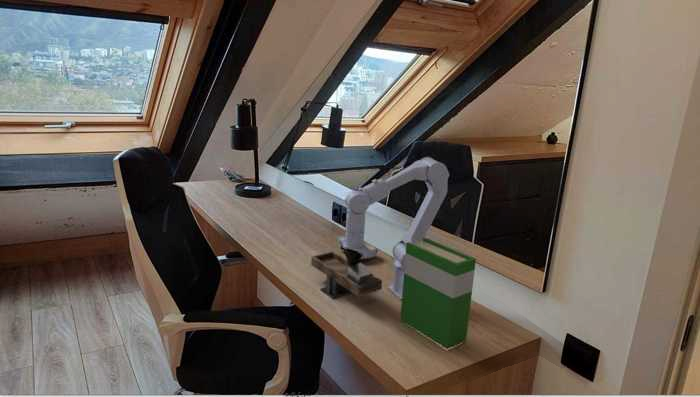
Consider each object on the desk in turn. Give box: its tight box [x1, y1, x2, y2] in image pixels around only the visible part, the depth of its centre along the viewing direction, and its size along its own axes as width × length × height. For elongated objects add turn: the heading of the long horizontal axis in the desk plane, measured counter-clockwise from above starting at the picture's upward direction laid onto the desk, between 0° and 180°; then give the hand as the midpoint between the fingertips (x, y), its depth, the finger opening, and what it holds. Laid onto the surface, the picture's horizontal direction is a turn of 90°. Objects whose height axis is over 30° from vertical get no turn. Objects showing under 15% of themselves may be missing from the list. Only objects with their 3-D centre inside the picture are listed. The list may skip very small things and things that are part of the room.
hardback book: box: [400, 237, 477, 349], centre depth 125 cm, size 18×7×24 cm, turn 37°
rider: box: [347, 262, 374, 286], centre depth 142 cm, size 7×5×5 cm
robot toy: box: [337, 244, 382, 260], centre depth 178 cm, size 12×4×15 cm
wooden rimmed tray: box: [310, 251, 383, 297], centre depth 149 cm, size 26×9×3 cm, turn 37°
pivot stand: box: [319, 275, 353, 300], centre depth 150 cm, size 7×14×6 cm, turn 127°
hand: (352, 271), depth 145 cm, fingers closed, pressing on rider
